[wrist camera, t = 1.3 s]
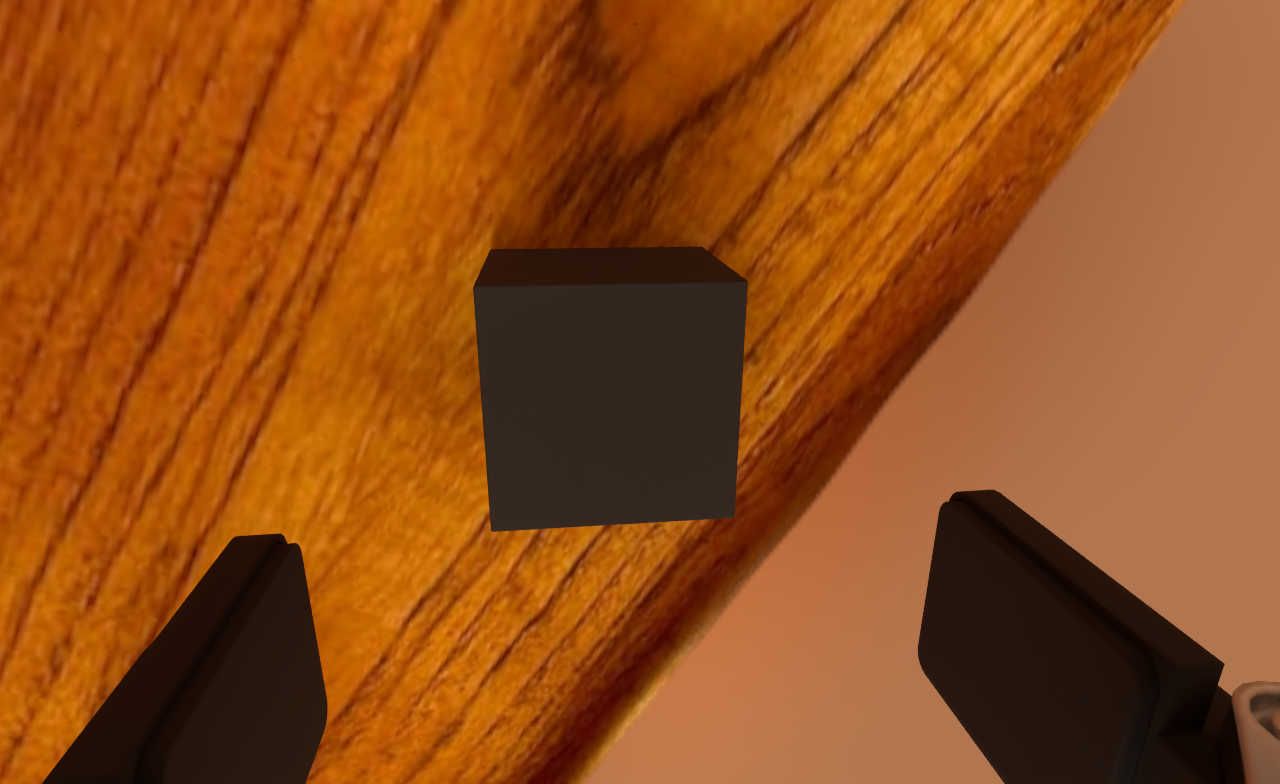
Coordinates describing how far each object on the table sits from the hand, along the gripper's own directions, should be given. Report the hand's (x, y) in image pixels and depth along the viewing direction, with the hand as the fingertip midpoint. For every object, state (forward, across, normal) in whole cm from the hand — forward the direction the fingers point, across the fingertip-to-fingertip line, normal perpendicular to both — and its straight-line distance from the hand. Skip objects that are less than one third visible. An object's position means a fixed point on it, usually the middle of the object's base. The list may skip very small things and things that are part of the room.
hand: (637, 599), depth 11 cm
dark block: (+12, 0, 0) cm, 12 cm away
